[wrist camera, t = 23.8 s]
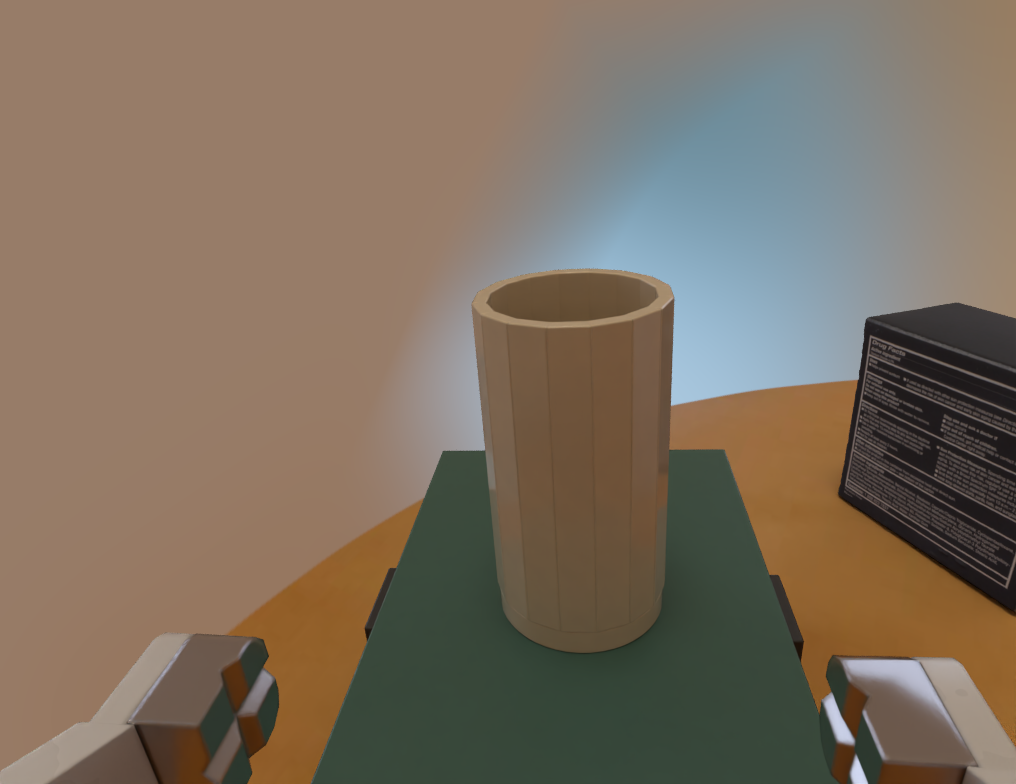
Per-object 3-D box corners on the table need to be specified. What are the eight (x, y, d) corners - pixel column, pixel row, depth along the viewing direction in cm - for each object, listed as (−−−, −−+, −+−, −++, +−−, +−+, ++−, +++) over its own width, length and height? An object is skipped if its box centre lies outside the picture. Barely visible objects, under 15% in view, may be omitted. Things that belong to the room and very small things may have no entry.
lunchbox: (868, 1110, 16) (924, 935, 13) (312, 1046, 17) (250, 880, 15) (725, 576, 32) (735, 448, 30) (448, 571, 34) (433, 450, 31)
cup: (490, 651, 20) (457, 329, 16) (509, 541, 25) (487, 272, 21) (671, 656, 19) (685, 323, 15) (655, 543, 24) (662, 265, 20)
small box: (1125, 578, 30) (1208, 362, 26) (1017, 620, 29) (1087, 395, 24) (922, 468, 40) (959, 295, 35) (832, 494, 38) (859, 315, 34)
